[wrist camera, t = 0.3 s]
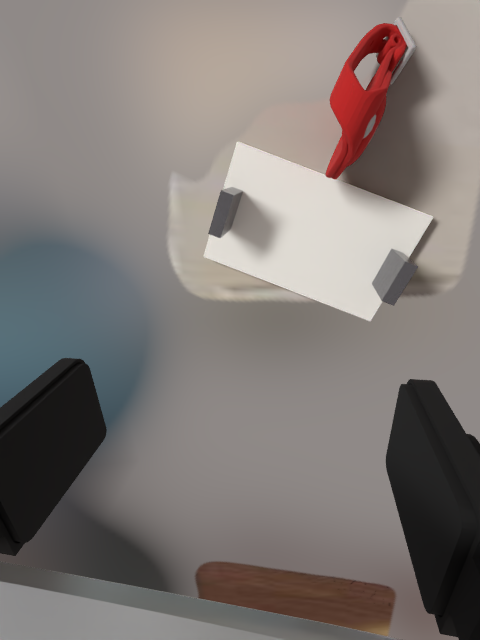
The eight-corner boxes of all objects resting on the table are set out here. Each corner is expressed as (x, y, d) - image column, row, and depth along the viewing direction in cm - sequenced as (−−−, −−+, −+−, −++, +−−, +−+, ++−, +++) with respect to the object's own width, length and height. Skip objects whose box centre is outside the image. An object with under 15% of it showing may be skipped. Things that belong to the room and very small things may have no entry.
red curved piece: (340, 183, 33) (354, 190, 24) (300, 164, 32) (298, 164, 24) (418, 36, 27) (474, -27, 18) (369, 12, 27) (402, -63, 18)
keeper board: (239, 141, 32) (226, 137, 27) (429, 214, 32) (455, 225, 27) (206, 254, 38) (189, 269, 32) (368, 317, 38) (379, 343, 32)
